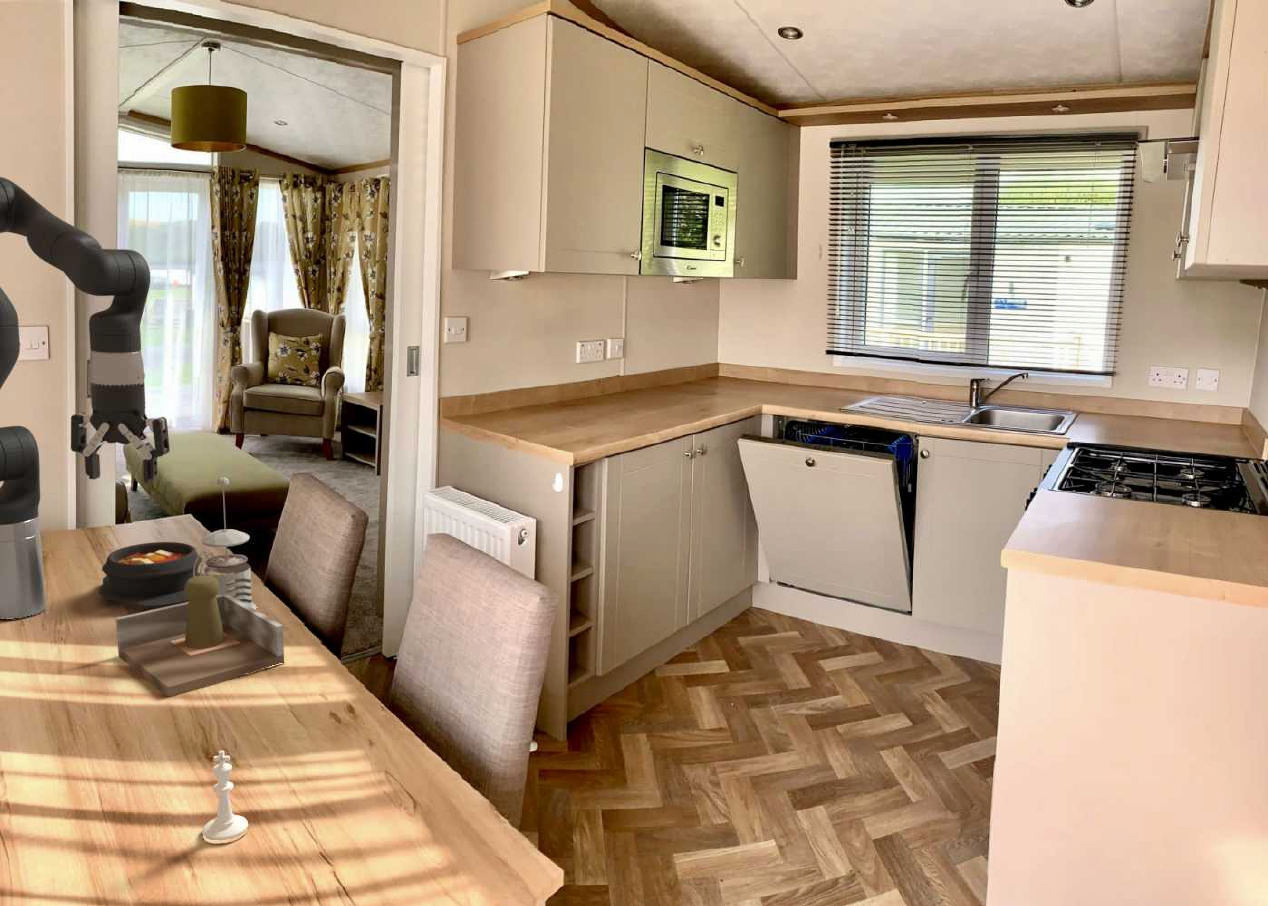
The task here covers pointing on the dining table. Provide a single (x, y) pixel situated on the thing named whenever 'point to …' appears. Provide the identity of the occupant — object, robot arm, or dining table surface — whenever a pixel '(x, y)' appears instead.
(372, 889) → the dining table surface
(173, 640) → the board
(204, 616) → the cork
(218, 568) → the french press
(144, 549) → the casserole
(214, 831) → the chess piece
